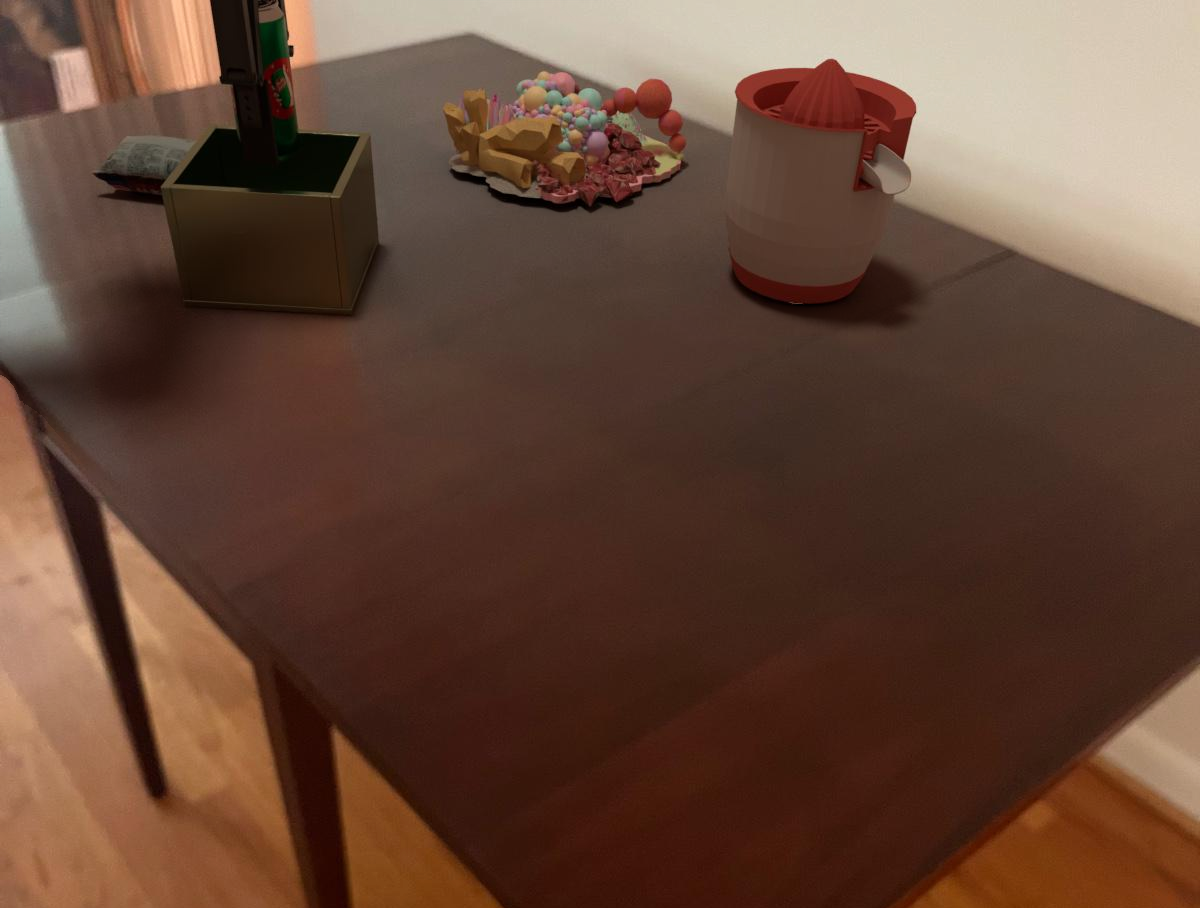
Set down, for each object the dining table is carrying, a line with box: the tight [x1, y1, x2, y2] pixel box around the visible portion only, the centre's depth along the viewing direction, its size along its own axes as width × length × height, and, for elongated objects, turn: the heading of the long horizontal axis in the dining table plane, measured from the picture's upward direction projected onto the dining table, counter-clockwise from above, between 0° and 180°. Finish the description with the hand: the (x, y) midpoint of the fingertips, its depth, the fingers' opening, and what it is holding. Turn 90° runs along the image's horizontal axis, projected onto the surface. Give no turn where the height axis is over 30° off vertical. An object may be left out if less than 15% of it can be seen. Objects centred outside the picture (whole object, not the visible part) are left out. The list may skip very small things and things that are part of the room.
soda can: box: [229, 0, 300, 161], centre depth 96 cm, size 5×5×12 cm
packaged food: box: [91, 134, 197, 196], centre depth 119 cm, size 9×12×5 cm
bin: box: [161, 123, 380, 316], centre depth 104 cm, size 15×15×11 cm
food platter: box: [442, 71, 687, 207], centre depth 127 cm, size 25×24×9 cm
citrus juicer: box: [724, 58, 917, 305], centre depth 104 cm, size 16×17×20 cm
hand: (269, 149), depth 100 cm, fingers closed on soda can, 5 cm apart
